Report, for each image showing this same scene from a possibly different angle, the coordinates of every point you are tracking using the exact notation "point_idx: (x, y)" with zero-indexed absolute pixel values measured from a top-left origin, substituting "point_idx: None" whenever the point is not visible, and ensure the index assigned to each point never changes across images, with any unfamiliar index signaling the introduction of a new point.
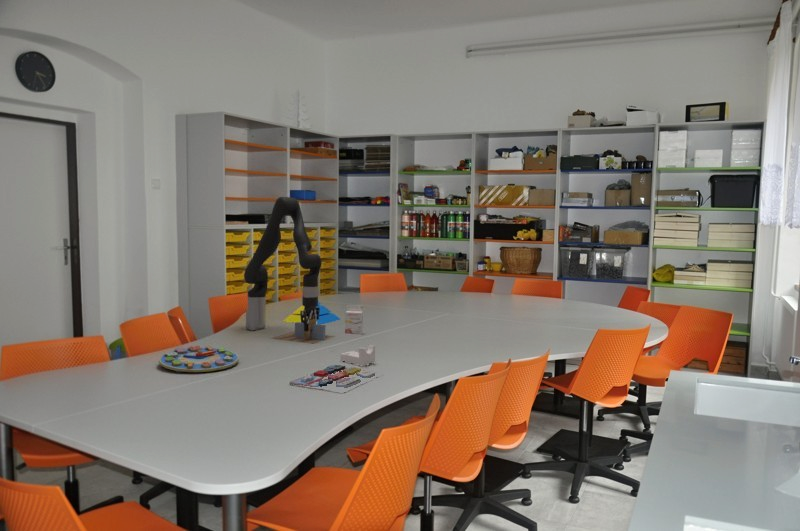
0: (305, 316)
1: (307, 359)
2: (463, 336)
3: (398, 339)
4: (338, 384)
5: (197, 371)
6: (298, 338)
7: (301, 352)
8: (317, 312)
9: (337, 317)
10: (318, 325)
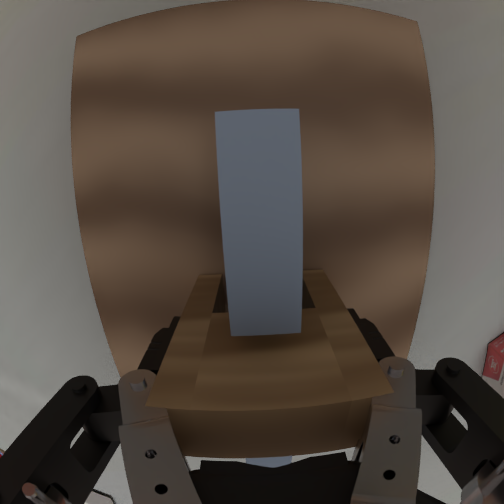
0: (70, 490)
1: (11, 420)
2: (460, 493)
3: (419, 482)
4: None
5: None
6: (188, 216)
7: (24, 384)
8: (462, 479)
9: None
10: (247, 461)
